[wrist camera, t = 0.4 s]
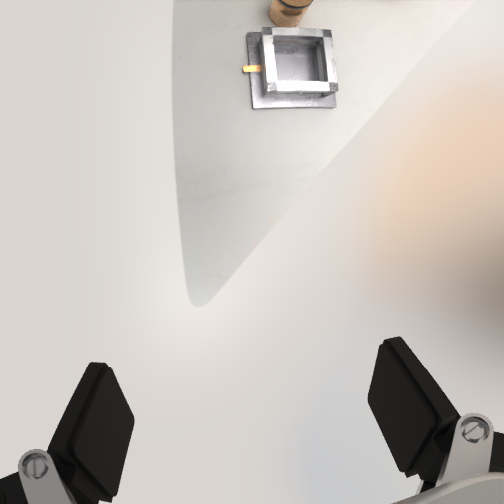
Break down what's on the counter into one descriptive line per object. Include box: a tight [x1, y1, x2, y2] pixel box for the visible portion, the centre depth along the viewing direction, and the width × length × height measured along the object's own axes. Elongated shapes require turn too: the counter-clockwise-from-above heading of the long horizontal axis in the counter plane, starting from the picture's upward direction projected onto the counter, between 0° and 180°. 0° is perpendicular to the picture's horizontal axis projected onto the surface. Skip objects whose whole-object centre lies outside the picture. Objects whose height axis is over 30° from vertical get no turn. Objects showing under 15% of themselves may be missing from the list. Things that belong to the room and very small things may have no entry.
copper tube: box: [269, 0, 313, 28], centre depth 25 cm, size 4×4×8 cm
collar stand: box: [243, 27, 338, 109], centre depth 29 cm, size 10×11×6 cm
